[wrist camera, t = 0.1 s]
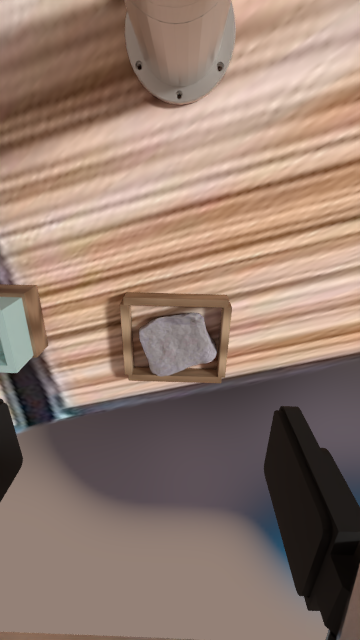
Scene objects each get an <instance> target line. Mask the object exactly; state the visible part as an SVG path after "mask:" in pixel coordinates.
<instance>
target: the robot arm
mask: <svg viewBox="0 0 360 640" xmlns="http://www.w3.org/2000/svg"><path fill="white" fill-rule="evenodd" d="M124 3H125V6H126V9H127V13H126V19H125V41H126V49H127V53H128V56H129V60H130V63H131V65H132V68H133V70H134V72H135V74H136V76H137V78H138V79H139V81H140V82H141V83H142V85H143V86H144V87H145V89H146V90H148V91H149V92H150V93H151V94H152V95H153V96H155V97H156V98H158V99H160V100H162V101H164V102H167V103H170V104H178V105H183V104H190V103H193V102H196V101H198V100H200V99H202V98H203V97H205V96H206V95H208V94H209V93H210V92H211V91H212V90H213V89H214V88H215V87H216V86H217V85H218V84H219V82H220V81H221V79H222V78H223V76H224V74H225V72H226V70H227V68H228V66H229V63H230V60H231V57H232V53H233V49H234V44H235V33H236V25H235V14H234V10H233V5H232V1H231V0H124ZM139 66H142V69H141V70H139V69H138V67H139ZM218 67H221V69H222V70H221V71H218V69H217V68H218ZM178 95H181V98H180V99H178V98H177V96H178ZM22 461H23V457H22V453H21V450H20V446H19V443H18V440H17V436H16V432H15V429H14V425H13V422H12V418H11V415H10V411H9V408H8V405H7V404H6V403H4V402H3V400H2V399H0V502H1V500H2V498H3V497H4V495H5V493H6V492H7V490H8V488H9V487H10V485H11V483H12V482H13V480H14V478H15V477H16V475H17V473H18V472H19V470H20V468H21V465H22ZM264 473H265V478H266V481H267V485H268V489H269V493H270V496H271V500H272V503H273V507H274V511H275V515H276V518H277V522H278V526H279V529H280V533H281V537H282V540H283V544H284V547H285V551H286V555H287V558H288V562H289V566H290V570H291V573H292V577H293V580H294V584H295V588H296V591H297V593H298V595H299V596H304V598H305V602H306V605H307V609H308V610H309V611H311V610H312V611H320V612H321V615H322V618H323V622H324V625H325V626H326V627H327V628H328V629H329V630H328V633H327V637H326V640H360V507H359V505H358V503H357V502H356V500H355V498H354V496H353V494H352V492H351V491H350V489H349V487H348V485H347V483H346V481H345V479H344V478H343V476H342V474H341V472H340V470H339V469H338V467H337V465H336V463H335V461H334V459H333V457H332V456H331V454H330V453H329V451H328V450H327V449H325V448H320V447H319V445H318V443H317V441H316V439H315V437H314V435H313V433H312V431H311V429H310V427H309V425H308V423H307V422H306V420H305V418H304V416H303V414H302V412H301V410H300V409H299V407H290V406H281V407H280V409H279V411H278V410H276V411H275V412H274V416H273V421H272V426H271V432H270V437H269V442H268V447H267V453H266V458H265V463H264ZM0 640H191V639H169V638H147V637H123V636H97V635H72V634H45V633H19V632H0Z"/></svg>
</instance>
